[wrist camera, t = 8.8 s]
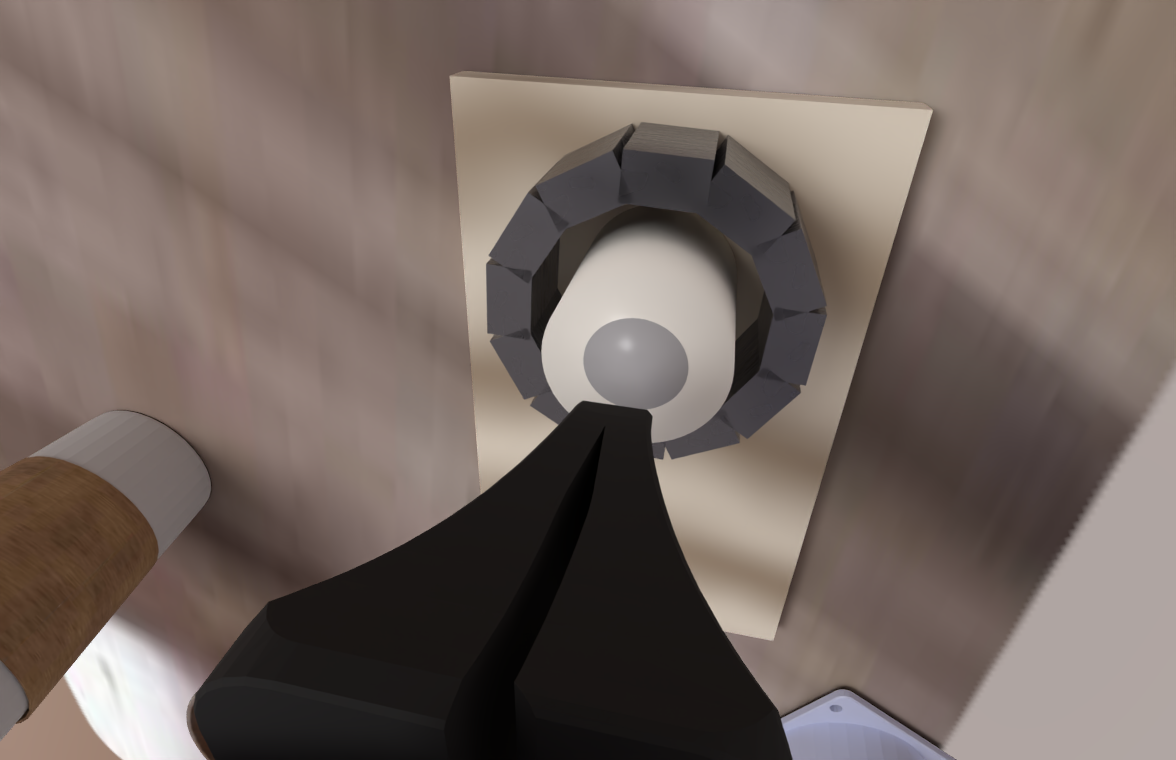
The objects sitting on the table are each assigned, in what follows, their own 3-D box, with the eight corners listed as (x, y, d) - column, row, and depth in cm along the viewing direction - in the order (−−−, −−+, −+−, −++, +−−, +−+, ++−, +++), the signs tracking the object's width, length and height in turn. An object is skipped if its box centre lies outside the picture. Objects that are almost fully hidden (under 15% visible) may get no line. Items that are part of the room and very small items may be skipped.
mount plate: (772, 620, 27) (773, 640, 26) (494, 567, 29) (487, 585, 28) (923, 103, 16) (932, 110, 15) (463, 70, 18) (449, 76, 17)
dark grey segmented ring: (682, 442, 22) (674, 503, 19) (472, 296, 21) (434, 341, 18) (880, 255, 17) (902, 304, 15) (626, 53, 16) (604, 70, 14)
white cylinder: (674, 369, 20) (656, 472, 16) (558, 290, 20) (508, 376, 16) (770, 265, 18) (777, 355, 14) (641, 170, 17) (609, 234, 13)
